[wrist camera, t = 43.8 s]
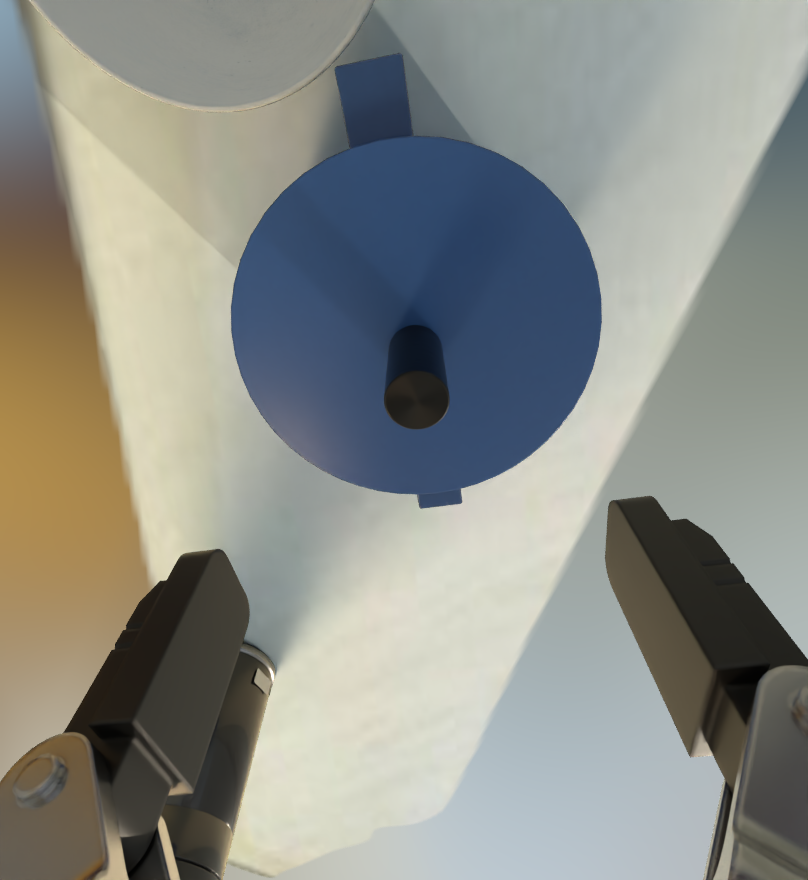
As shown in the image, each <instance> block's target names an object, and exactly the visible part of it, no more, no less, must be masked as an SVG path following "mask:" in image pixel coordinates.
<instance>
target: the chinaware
mask: <svg viewBox="0 0 808 880" xmlns="http://www.w3.org/2000/svg"><path fill="white" fill-rule="evenodd" d="M29 1H30V2H31V3H32V4H33V6H34V7H35V8H36V9H37V10H38V12H39V13H40V14H41V15H42V16H43V17H44V18H45V20H46V21H47V22H48V23H49V24H50V25H51V26H52V27H53V28H54V29H55V30H56V31H57V32H58V33H59V34H60V35H61V36H62V37H63V38H64V39H65V40H66V41H67V42H68V43H69V44H70V45H71V46H72V47H74V48H75V49H76V50H77V51H78V52H79V53H80V54H82V55H83V56H84V57H85V58H87V59H88V60H89V61H90V62H92V63H93V64H94V65H96V66H97V67H98V68H100V69H101V70H102V71H104V72H105V73H107V74H108V75H110V76H111V77H113V78H114V79H116V80H118V81H119V82H121V83H123V84H124V85H126V86H128V87H130V88H131V89H133V90H135V91H137V92H139V93H142V94H144V95H146V96H148V97H151V98H153V99H156V100H158V101H161V102H164V103H167V104H170V105H173V106H177V107H181V108H186V109H190V110H196V111H205V112H237V111H244V110H250V109H255V108H259V107H262V106H266V105H269V104H272V103H274V102H277V101H279V100H282V99H284V98H286V97H288V96H290V95H292V94H293V93H295V92H297V91H299V90H300V89H302V88H303V87H305V86H306V85H308V84H309V83H311V82H312V81H313V80H315V79H316V78H317V77H318V76H319V75H321V74H322V73H323V72H324V71H325V70H326V69H327V68H328V67H329V66H330V65H331V64H332V63H333V62H334V61H335V60H336V59H337V58H338V57H339V56H340V55H341V53H342V52H343V51H344V50H345V48H346V47H347V46H348V45H349V43H350V42H351V40H352V39H353V38H354V36H355V35H356V33H357V32H358V30H359V29H360V27H361V25H362V24H363V22H364V20H365V18H366V17H367V15H368V13H369V11H370V9H371V7H372V5H373V3H374V1H375V0H29Z"/></svg>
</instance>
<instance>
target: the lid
mask: <svg viewBox="0 0 808 880" xmlns="http://www.w3.org/2000/svg"><path fill="white" fill-rule="evenodd" d="M601 323H602V314H601V294H600V287H599V281H598V275H597V271H596V268H595V265H594V262H593V258H592V255H591V252H590V249H589V247H588V245H587V243H586V241H585V239H584V237H583V235H582V232H581V230H580V228H579V226H578V225H577V223H576V222H575V220H574V219H573V217H572V216H571V215H570V213H569V212H568V210H567V209H566V207H565V206H564V204H563V203H562V202H561V201H560V200H559V199H558V198H557V197H556V196H555V195H554V194H553V193H552V192H551V190H550V189H549V188H548V187H547V186H546V185H545V184H544V183H543V182H541V181H540V180H539V179H537V178H536V177H535V176H534V175H532V174H531V173H530V172H528V171H527V170H526V169H525V168H523V167H522V166H520V165H518V164H516V163H515V162H513V161H511V160H509V159H508V158H506V157H504V156H502V155H500V154H499V153H496V152H494V151H491V150H488V149H486V148H483V147H480V146H477V145H475V144H472V143H469V142H464V141H459V140H454V139H449V138H444V137H430V136H404V137H396V138H387V139H380V140H377V141H373V142H369V143H366V144H362V145H358V146H354V147H352V148H350V149H347V150H345V151H343V152H341V153H338V154H336V155H334V156H332V157H329V158H327V159H326V160H324V161H322V162H321V163H319V164H318V165H316V166H315V167H313V168H312V169H310V170H308V171H307V172H305V173H304V174H302V175H301V176H300V177H299V178H298V179H297V180H296V181H294V182H293V183H292V184H291V185H290V186H289V187H288V188H287V189H285V190H284V191H283V192H282V193H281V194H280V195H279V197H278V198H277V199H276V200H275V201H274V203H273V204H272V205H271V206H270V207H269V209H268V210H267V211H266V212H265V213H264V215H263V217H262V218H261V220H260V221H259V223H258V225H257V226H256V228H255V230H254V231H253V233H252V234H251V236H250V238H249V241H248V243H247V245H246V248H245V250H244V252H243V255H242V257H241V259H240V263H239V267H238V271H237V274H236V278H235V282H234V288H233V296H232V304H231V331H232V338H233V344H234V351H235V356H236V359H237V363H238V366H239V370H240V373H241V376H242V379H243V381H244V383H245V385H246V388H247V390H248V392H249V395H250V397H251V398H252V400H253V402H254V403H255V405H256V407H257V408H258V410H259V412H260V413H261V415H262V416H263V418H264V419H265V420H266V422H267V423H268V424H269V425H270V427H271V428H272V429H273V431H274V432H275V433H276V434H277V435H278V436H279V437H280V438H281V439H282V440H283V441H284V442H285V443H286V444H287V445H288V446H289V447H290V448H291V449H293V450H294V451H295V452H296V453H298V454H299V455H300V456H301V457H303V458H304V459H305V460H307V461H308V462H310V463H311V464H313V465H315V466H316V467H318V468H319V469H321V470H323V471H325V472H327V473H329V474H331V475H333V476H335V477H337V478H339V479H341V480H344V481H347V482H349V483H352V484H355V485H358V486H361V487H365V488H369V489H373V490H377V491H383V492H390V493H397V494H429V493H440V492H446V491H452V490H457V489H461V488H464V487H468V486H471V485H475V484H478V483H480V482H483V481H485V480H488V479H490V478H493V477H495V476H497V475H499V474H501V473H503V472H505V471H507V470H509V469H510V468H512V467H514V466H516V465H517V464H518V463H520V462H521V461H523V460H524V459H526V458H527V457H529V456H530V455H531V454H533V453H534V452H535V451H536V450H537V449H538V448H540V447H541V446H542V445H543V444H544V443H545V442H547V441H548V439H549V438H550V437H551V436H552V435H553V434H554V433H555V432H556V431H557V430H558V429H559V428H560V426H561V425H562V424H563V423H564V421H565V420H566V418H567V417H568V416H569V414H570V413H571V412H572V410H573V409H574V407H575V405H576V404H577V402H578V400H579V398H580V396H581V395H582V393H583V391H584V389H585V387H586V384H587V382H588V379H589V377H590V374H591V372H592V369H593V366H594V362H595V358H596V355H597V351H598V347H599V340H600V332H601Z"/></svg>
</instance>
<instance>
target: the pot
mask: <svg viewBox="0 0 808 880" xmlns="http://www.w3.org/2000/svg"><path fill="white" fill-rule="evenodd" d="M335 74H336V80H337V85H338V90H339V95H340V100H341V105H342V110H343V116H344V121H345V126H346V131H347V136H348V141H349V147H350V148H352V147H354V146H358V145H362V144H366V143H369V142H373V141H377V140H380V139H387V138H396V137H404V136H413V130H412V122H411V115H410V107H409V100H408V92H407V85H406V77H405V70H404V62H403V56H402V54H401V53H397V54H392V55H387V56H383V57H378V58H373V59H369V60H364V61H359V62H355V63H350V64H345V65H341V66H337V67H335ZM417 497H418V503H419V507H420V508H421V509H422V508H430V507H438V506H446V505H454V504H461V503H462V496H461V489H457V490H452V491H446V492H440V493H429V494H417Z"/></svg>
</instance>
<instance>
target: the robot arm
mask: <svg viewBox="0 0 808 880" xmlns="http://www.w3.org/2000/svg"><path fill="white" fill-rule="evenodd" d="M605 561H606V568H607V573H608V578H609V581H610V584H611V586H612V589H613V591H614V593H615V595H616V597H617V600H618V602H619V604H620V606H621V608H622V610H623V613H624V615H625V617H626V619H627V621H628V624H629V626H630V628H631V630H632V632H633V634H634V637H635V639H636V641H637V643H638V645H639V647H640V650H641V652H642V654H643V656H644V658H645V661H646V663H647V665H648V667H649V669H650V671H651V674H652V675H653V678H654V680H655V682H656V684H657V686H658V689H659V691H660V693H661V695H662V697H663V700H664V702H665V704H666V706H667V708H668V711H669V713H670V715H671V717H672V719H673V721H674V724H675V726H676V728H677V730H678V732H679V734H680V737H681V739H682V741H683V743H684V745H685V747H686V750H687V752H688V754H689V756H690V757H700V756H714V758H715V760H716V762H717V764H718V766H719V768H720V770H721V772H722V774H723V776H724V778H725V779H724V782H723V785H722V790H721V795H720V800H719V804H718V810H717V814H716V819H715V824H714V829H713V834H712V839H711V844H710V849H709V853H708V858H707V863H706V868H705V873H704V878H703V880H808V659H807V658H806V657H805V655H804V654H803V653H802V652H801V650H800V649H799V648H798V646H797V645H796V644H795V642H794V641H793V640H792V639H791V637H790V636H789V635H788V633H787V632H786V631H785V630H784V628H783V627H782V626H781V624H780V623H779V622H778V620H777V619H776V618H775V617H774V615H773V614H772V613H771V611H770V610H769V609H768V608H767V606H766V605H765V604H764V603H763V601H762V600H761V599H760V597H759V596H758V595H757V593H756V592H755V591H754V590H753V588H752V587H751V586H750V584H749V583H746V582H745V580H744V577H743V575H742V574H741V573H740V571H739V570H738V569H737V567H736V566H735V565H734V564H733V563H732V564H731V563H730V558H729V557H728V556H727V555H726V553H725V552H724V551H723V549H722V548H721V547H720V546H719V544H718V543H717V542H716V540H715V539H714V538H713V536H711V535H709V534H708V533H707V532H705V531H704V530H702V529H700V528H699V527H698V526H696V525H695V524H693V523H692V522H690V521H689V520H687V519H680V520H672V521H671V520H670V519H669V517H668V516H667V514H666V513H665V512H664V510H663V509H662V507H661V506H660V504H659V503H658V502H657V500H656V499H655V498H654V497H652V496H644V497H636V498H628V499H621V500H613V501H611V502H610V503H609V506H608V519H607V535H606V551H605ZM248 623H249V603H248V599H247V596H246V594H245V592H244V590H243V588H242V586H241V584H240V582H239V580H238V577H237V575H236V573H235V571H234V569H233V567H232V565H231V563H230V561H229V559H228V557H227V555H226V554H225V552H224V551H222V550H221V549H215V550H207V551H199V552H191V553H185V554H183V555H181V556H180V558H179V559H178V561H177V562H176V564H175V566H174V568H173V570H172V572H171V573H170V575H169V577H168V579H167V580H166V581H160V582H159V583H158V584H157V585H156V586H155V587H154V588H153V589H152V590H151V591H150V592H149V593H148V594H147V595H146V596H145V597H144V598H143V599H142V600H141V601H140V602H139V604H138V606H137V607H136V609H135V611H134V613H133V614H132V616H131V618H130V619H129V621H128V623H127V625H126V630H123V631H122V633H121V635H120V637H119V638H118V640H117V642H116V644H115V650H112V651H111V652H110V654H109V656H108V657H107V659H106V661H105V663H104V664H103V666H102V668H101V669H100V671H99V673H98V675H97V676H96V678H95V680H94V682H93V683H92V685H91V687H90V688H89V690H88V692H87V694H86V696H85V697H84V699H83V701H82V703H81V704H80V706H79V708H78V710H77V711H76V713H75V714H74V716H73V718H72V720H71V721H70V723H69V725H68V726H67V728H66V730H65V731H64V733H62V734H59V735H56V736H53V737H51V738H49V739H47V740H45V741H43V742H41V743H40V744H38V745H37V746H35V747H34V748H32V749H31V750H30V751H28V752H27V753H26V754H25V755H24V756H22V757H21V758H20V759H19V760H18V761H17V762H16V763H15V764H14V766H12V768H11V769H10V770H9V771H8V772H7V774H6V775H5V776H4V778H3V779H2V780H1V782H0V880H223V876H224V872H225V868H226V864H227V860H228V856H229V852H230V848H231V844H232V840H233V836H234V832H235V828H236V824H237V820H238V816H239V812H240V808H241V804H242V800H243V796H244V792H245V788H246V784H247V780H248V776H249V772H250V768H251V764H252V760H253V756H254V752H255V748H256V744H257V741H258V737H259V733H260V729H261V725H262V721H263V717H264V713H265V709H266V705H267V701H268V697H269V695H270V691H271V687H272V685H273V681H274V677H275V667H274V665H273V663H272V661H271V660H270V659H269V658H268V657H267V656H266V655H265V654H264V653H263V652H261V651H260V650H258V649H256V648H254V647H252V646H250V645H247V644H244V643H243V639H244V636H245V633H246V630H247V627H248Z"/></svg>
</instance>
